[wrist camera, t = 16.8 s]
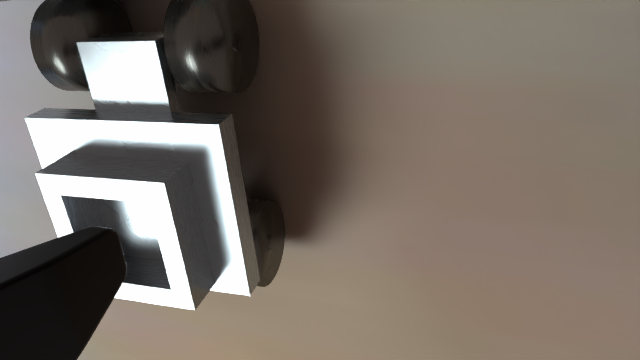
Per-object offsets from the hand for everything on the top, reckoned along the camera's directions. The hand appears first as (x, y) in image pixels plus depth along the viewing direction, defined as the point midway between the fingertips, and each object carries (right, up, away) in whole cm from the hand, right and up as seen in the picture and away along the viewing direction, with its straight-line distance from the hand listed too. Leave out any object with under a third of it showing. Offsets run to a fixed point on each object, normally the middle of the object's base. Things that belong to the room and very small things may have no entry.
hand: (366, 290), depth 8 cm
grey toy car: (-6, +4, +15) cm, 17 cm away
